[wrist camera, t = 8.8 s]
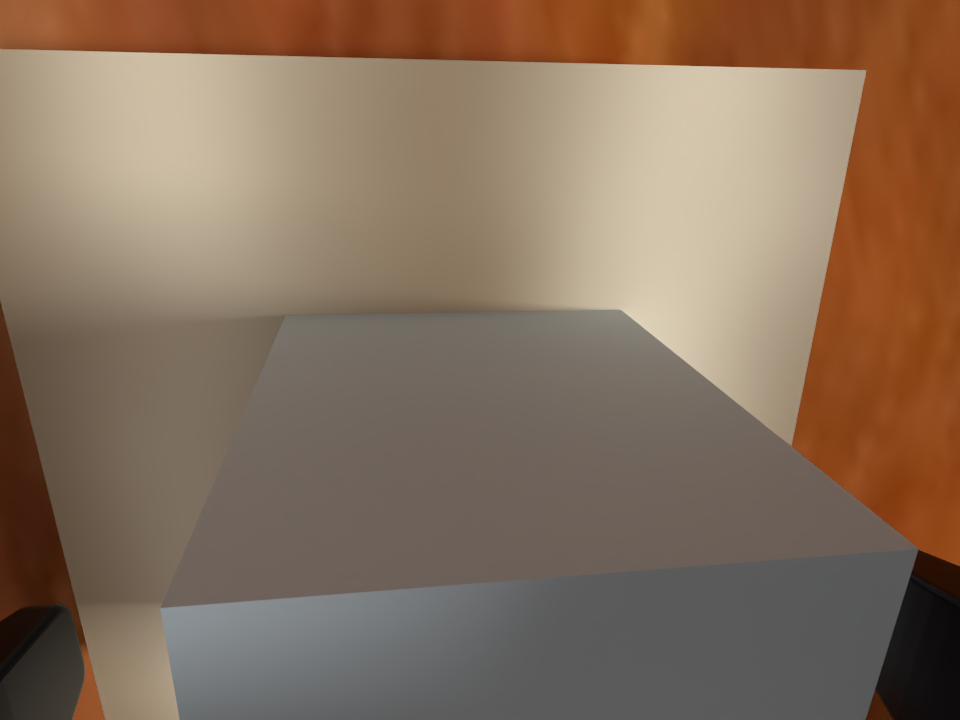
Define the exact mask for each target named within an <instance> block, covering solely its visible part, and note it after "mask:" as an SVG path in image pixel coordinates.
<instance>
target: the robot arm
mask: <svg viewBox="0 0 960 720" xmlns="http://www.w3.org/2000/svg"><path fill="white" fill-rule="evenodd" d="M84 674H85V667H84V660H83V656H82V652H81V648H80V644H79V640H78V636H77V632H76V628H75V624H74V620H73V616H72V614H71V611H70V610H69V608H68V607H67V606H65V605H63V604H49V605H38V606H28V607H24V608H21V609H19V610H17V611H16V612H14V613H13V614H11V615H10V616H8V617H7V618H5V619H4V620H2V621H1V622H0V720H72V719H73V716H74V713H75V710H76V706H77V703H78V700H79V697H80V693H81V690H82V687H83V682H84ZM875 690H876V691H877V693H878V695H879V697H880V698H881V700H882V702H883V703H884V705H885V707H886V708H887V710H888V712H889V713H890V715H891V717H892V718H893V720H960V566H957V565H955V564H952V563H950V562H947V561H945V560H942V559H940V558H937V557H935V556H932V555H930V554H927V553H925V552H922V551H920V550H918V553H917V556H916V559H915V562H914V566H913V569H912V572H911V575H910V578H909V582H908V585H907V588H906V591H905V595H904V598H903V601H902V604H901V607H900V611H899V614H898V617H897V620H896V624H895V627H894V630H893V633H892V636H891V640H890V643H889V646H888V649H887V653H886V656H885V659H884V662H883V665H882V669H881V672H880V675H879V678H878V682H877V685H876V688H875Z"/></svg>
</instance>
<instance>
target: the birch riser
mask: <svg viewBox="0 0 960 720" xmlns="http://www.w3.org/2000/svg"><path fill="white" fill-rule="evenodd" d="M865 75H866V70H831V69H790V68H750V67H709V66H668V65H627V64H587V63H546V62H505V61H464V60H424V59H383V58H342V57H301V56H260V55H220V54H179V53H138V52H97V51H57V50H16V49H0V302H1V306H2V310H3V313H4V317H5V321H6V325H7V329H8V333H9V337H10V341H11V345H12V349H13V353H14V357H15V361H16V365H17V369H18V373H19V377H20V381H21V385H22V389H23V393H24V397H25V401H26V405H27V409H28V413H29V417H30V421H31V425H32V429H33V433H34V437H35V441H36V445H37V449H38V453H39V457H40V461H41V465H42V469H43V473H44V477H45V481H46V485H47V489H48V493H49V497H50V501H51V505H52V509H53V513H54V517H55V521H56V525H57V529H58V533H59V537H60V541H61V545H62V549H63V553H64V557H65V561H66V565H67V569H68V573H69V577H70V581H71V585H72V589H73V593H74V597H75V601H76V605H77V609H78V613H79V617H80V621H81V625H82V629H83V632H84V636H85V640H86V644H87V648H88V652H89V656H90V660H91V664H92V668H93V672H94V676H95V680H96V684H97V688H98V692H99V696H100V700H101V704H102V708H103V712H104V716H105V720H180V718H179V713H178V707H177V701H176V696H175V690H174V684H173V679H172V673H171V667H170V661H169V656H168V650H167V644H166V639H165V633H164V627H163V621H162V616H161V610H160V607H161V605H162V603H163V600H164V598H165V596H166V593H167V591H168V589H169V586H170V584H171V582H172V579H173V577H174V575H175V572H176V570H177V568H178V565H179V563H180V561H181V558H182V556H183V554H184V551H185V549H186V547H187V544H188V542H189V540H190V537H191V535H192V533H193V530H194V528H195V526H196V523H197V521H198V519H199V516H200V514H201V512H202V509H203V507H204V505H205V502H206V500H207V498H208V495H209V493H210V491H211V488H212V486H213V484H214V481H215V479H216V477H217V474H218V472H219V469H220V467H221V465H222V462H223V460H224V458H225V455H226V453H227V451H228V448H229V446H230V444H231V441H232V439H233V437H234V434H235V432H236V430H237V427H238V425H239V423H240V420H241V418H242V416H243V413H244V411H245V409H246V406H247V404H248V402H249V399H250V397H251V395H252V392H253V390H254V388H255V385H256V383H257V381H258V378H259V376H260V374H261V371H262V369H263V367H264V364H265V362H266V360H267V357H268V355H269V353H270V350H271V348H272V346H273V343H274V341H275V339H276V336H277V334H278V332H279V329H280V327H281V325H282V322H283V320H284V318H285V315H322V314H385V313H448V312H511V311H574V310H622V311H623V312H624V313H626V314H627V315H628V316H629V317H631V318H632V319H633V320H634V321H635V322H637V323H638V324H639V325H640V326H642V327H643V328H644V329H645V330H647V331H648V332H649V333H650V334H652V335H653V336H654V337H655V338H657V339H658V340H659V341H660V342H662V343H663V344H664V345H665V346H667V347H668V348H669V349H670V350H672V351H673V352H674V353H675V354H677V355H678V356H679V357H680V358H682V359H683V360H684V361H685V362H687V363H688V364H689V365H690V366H692V367H693V368H694V369H695V370H697V371H698V372H699V373H700V374H702V375H703V376H704V377H705V378H707V379H708V380H709V381H710V382H712V383H713V384H714V385H715V386H717V387H718V388H719V389H720V390H721V391H723V392H724V393H725V394H726V395H728V396H729V397H730V398H731V399H733V400H734V401H735V402H736V403H738V404H739V405H740V406H741V407H743V408H744V409H745V410H746V411H748V412H749V413H750V414H751V415H753V416H754V417H755V418H756V419H758V420H759V421H760V422H761V423H763V424H764V425H765V426H766V427H768V428H769V429H770V430H771V431H773V432H774V433H775V434H776V435H778V436H779V437H780V438H781V439H783V440H784V441H785V442H786V443H788V444H789V445H790V446H791V445H792V440H793V435H794V430H795V425H796V420H797V415H798V410H799V405H800V400H801V395H802V390H803V385H804V380H805V375H806V370H807V365H808V360H809V355H810V350H811V345H812V340H813V335H814V330H815V325H816V320H817V315H818V310H819V305H820V300H821V295H822V290H823V285H824V280H825V275H826V270H827V265H828V260H829V255H830V250H831V245H832V240H833V235H834V230H835V225H836V220H837V215H838V210H839V205H840V200H841V195H842V190H843V185H844V180H845V175H846V170H847V165H848V160H849V155H850V150H851V145H852V140H853V135H854V130H855V125H856V120H857V115H858V110H859V105H860V100H861V95H862V90H863V85H864V80H865Z"/></svg>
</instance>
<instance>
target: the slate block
mask: <svg viewBox="0 0 960 720" xmlns="http://www.w3.org/2000/svg"><path fill="white" fill-rule="evenodd" d="M917 553H918V548H917V547H916V546H915V545H913V544H912V543H911V542H910V541H908V540H907V539H906V538H905V537H903V536H902V535H901V534H900V533H898V532H897V531H896V530H895V529H893V528H892V527H891V526H890V525H888V524H887V523H886V522H885V521H883V520H882V519H881V518H880V517H879V516H877V515H876V514H875V513H874V512H872V511H871V510H870V509H869V508H867V507H866V506H865V505H864V504H862V503H861V502H860V501H859V500H857V499H856V498H855V497H854V496H852V495H851V494H850V493H849V492H847V491H846V490H845V489H844V488H842V487H841V486H840V485H839V484H837V483H836V482H835V481H834V480H832V479H831V478H830V477H829V476H827V475H826V474H825V473H824V472H822V471H821V470H820V469H819V468H817V467H816V466H815V465H814V464H812V463H811V462H810V461H809V460H807V459H806V458H805V457H804V456H802V455H801V454H800V453H799V452H798V451H796V450H795V449H794V448H793V447H791V446H790V445H789V444H788V443H786V442H785V441H784V440H783V439H781V438H780V437H779V436H778V435H776V434H775V433H774V432H773V431H771V430H770V429H769V428H768V427H766V426H765V425H764V424H763V423H761V422H760V421H759V420H758V419H756V418H755V417H754V416H753V415H751V414H750V413H749V412H748V411H746V410H745V409H744V408H743V407H741V406H740V405H739V404H738V403H736V402H735V401H734V400H733V399H731V398H730V397H729V396H728V395H726V394H725V393H724V392H723V391H721V390H720V389H719V388H718V387H717V386H715V385H714V384H713V383H712V382H710V381H709V380H708V379H707V378H705V377H704V376H703V375H702V374H700V373H699V372H698V371H697V370H695V369H694V368H693V367H692V366H690V365H689V364H688V363H687V362H685V361H684V360H683V359H682V358H680V357H679V356H678V355H677V354H675V353H674V352H673V351H672V350H670V349H669V348H668V347H667V346H665V345H664V344H663V343H662V342H660V341H659V340H658V339H657V338H655V337H654V336H653V335H652V334H650V333H649V332H648V331H647V330H645V329H644V328H643V327H642V326H640V325H639V324H638V323H637V322H635V321H634V320H633V319H632V318H631V317H629V316H628V315H627V314H626V313H624V312H623V311H622V310H574V311H511V312H448V313H385V314H322V315H285V318H284V320H283V322H282V325H281V327H280V329H279V332H278V334H277V336H276V339H275V341H274V343H273V346H272V348H271V350H270V353H269V355H268V357H267V360H266V362H265V364H264V367H263V369H262V371H261V374H260V376H259V378H258V381H257V383H256V385H255V388H254V390H253V392H252V395H251V397H250V399H249V402H248V404H247V406H246V409H245V411H244V413H243V416H242V418H241V420H240V423H239V425H238V427H237V430H236V432H235V434H234V437H233V439H232V441H231V444H230V446H229V448H228V451H227V453H226V455H225V458H224V460H223V462H222V465H221V467H220V469H219V472H218V474H217V477H216V479H215V481H214V484H213V486H212V488H211V491H210V493H209V495H208V498H207V500H206V502H205V505H204V507H203V509H202V512H201V514H200V516H199V519H198V521H197V523H196V526H195V528H194V530H193V533H192V535H191V537H190V540H189V542H188V544H187V547H186V549H185V551H184V554H183V556H182V558H181V561H180V563H179V565H178V568H177V570H176V572H175V575H174V577H173V579H172V582H171V584H170V586H169V589H168V591H167V593H166V596H165V598H164V600H163V603H162V605H161V607H160V610H161V616H162V621H163V627H164V633H165V639H166V644H167V650H168V656H169V661H170V667H171V673H172V679H173V684H174V690H175V696H176V701H177V707H178V713H179V718H180V720H866V717H867V714H868V711H869V707H870V704H871V701H872V698H873V694H874V691H875V688H876V685H877V682H878V678H879V675H880V672H881V669H882V665H883V662H884V659H885V656H886V653H887V649H888V646H889V643H890V640H891V636H892V633H893V630H894V627H895V624H896V620H897V617H898V614H899V611H900V607H901V604H902V601H903V598H904V595H905V591H906V588H907V585H908V582H909V578H910V575H911V572H912V569H913V566H914V562H915V559H916V556H917Z"/></svg>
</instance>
